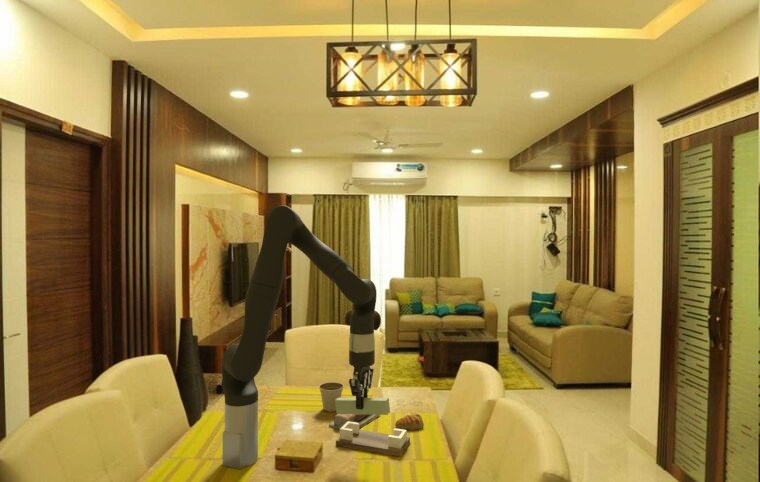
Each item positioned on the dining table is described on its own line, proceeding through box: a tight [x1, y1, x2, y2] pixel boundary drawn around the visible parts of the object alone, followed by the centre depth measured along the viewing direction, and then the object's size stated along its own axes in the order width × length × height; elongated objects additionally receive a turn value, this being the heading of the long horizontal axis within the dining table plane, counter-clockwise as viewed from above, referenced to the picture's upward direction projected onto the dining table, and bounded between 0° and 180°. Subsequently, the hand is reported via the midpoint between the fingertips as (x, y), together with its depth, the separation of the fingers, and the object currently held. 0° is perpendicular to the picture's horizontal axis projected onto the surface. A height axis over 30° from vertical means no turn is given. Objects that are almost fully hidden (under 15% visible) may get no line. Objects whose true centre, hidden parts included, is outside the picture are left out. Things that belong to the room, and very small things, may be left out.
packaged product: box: [328, 413, 380, 430], centre depth 161 cm, size 18×5×10 cm
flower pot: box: [318, 381, 345, 413], centre depth 172 cm, size 9×9×9 cm
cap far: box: [339, 421, 360, 440], centre depth 146 cm, size 6×4×3 cm, turn 160°
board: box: [335, 429, 411, 457], centre depth 143 cm, size 10×21×2 cm, turn 70°
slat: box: [335, 397, 391, 416], centre depth 133 cm, size 2×16×4 cm, turn 70°
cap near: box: [388, 427, 408, 449], centre depth 140 cm, size 6×4×3 cm, turn 160°
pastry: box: [395, 413, 425, 431], centre depth 157 cm, size 9×7×4 cm
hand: (361, 406), depth 133 cm, fingers closed on slat, 2 cm apart
